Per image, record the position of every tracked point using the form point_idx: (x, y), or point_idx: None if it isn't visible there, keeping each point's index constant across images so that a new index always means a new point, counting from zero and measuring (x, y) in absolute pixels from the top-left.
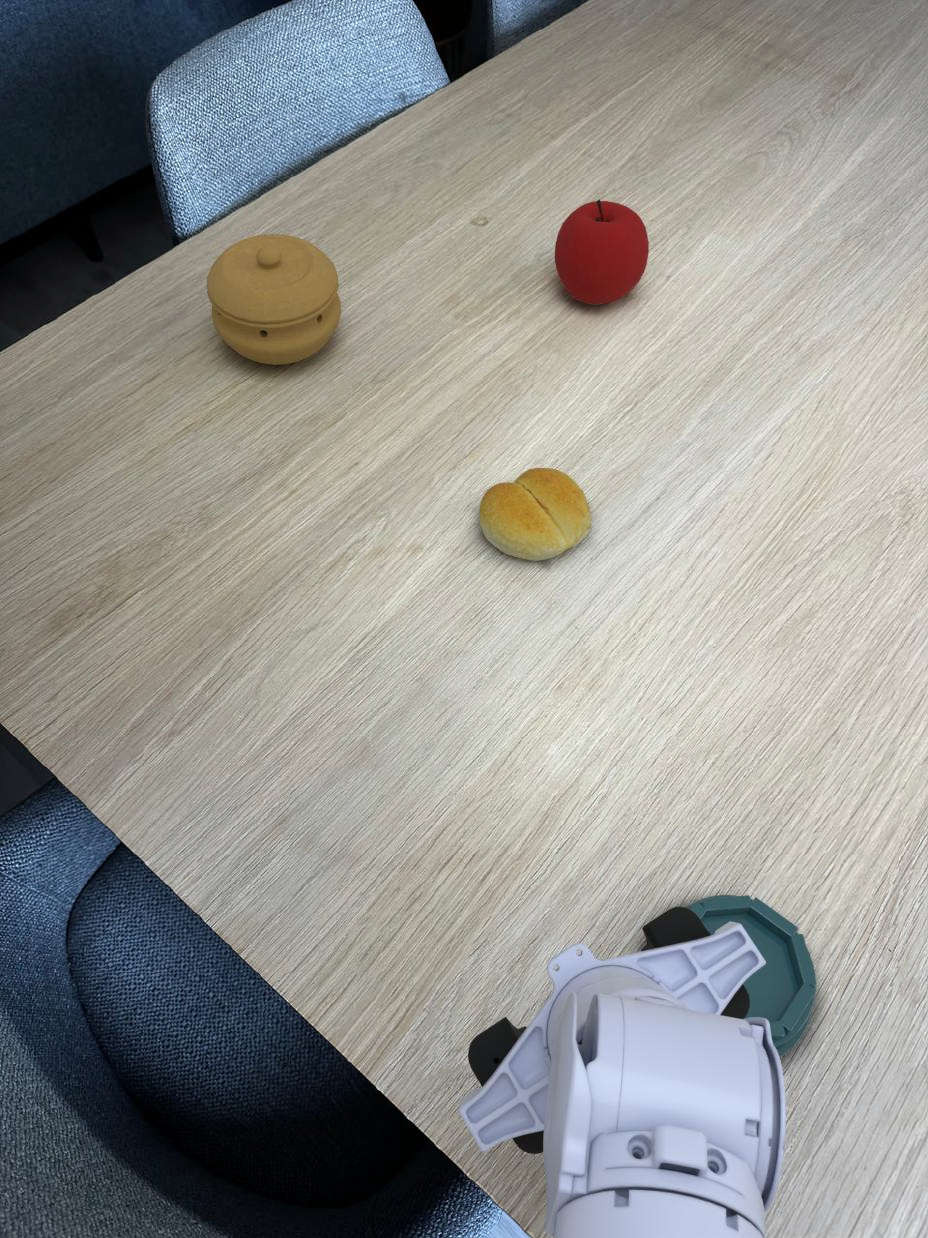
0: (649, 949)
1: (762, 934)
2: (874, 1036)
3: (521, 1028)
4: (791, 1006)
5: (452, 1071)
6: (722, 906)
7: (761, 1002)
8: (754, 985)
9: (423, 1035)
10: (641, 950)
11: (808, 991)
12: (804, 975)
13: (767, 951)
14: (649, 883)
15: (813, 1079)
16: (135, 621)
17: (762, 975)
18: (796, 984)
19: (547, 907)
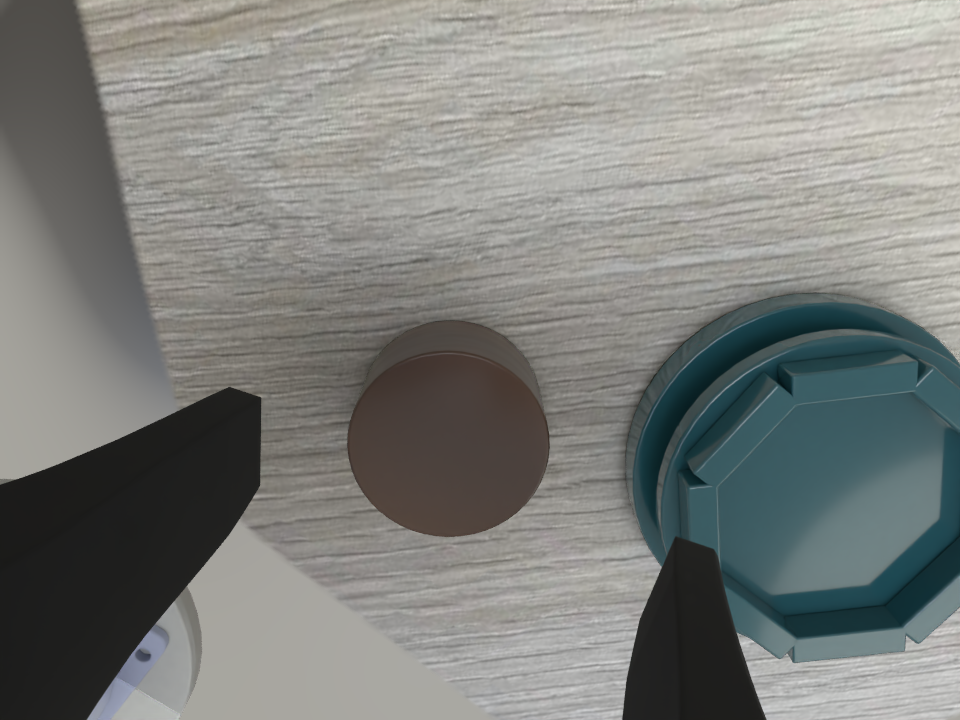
0: (674, 714)
1: (941, 492)
2: (888, 678)
3: (161, 463)
4: (840, 637)
5: (238, 189)
6: (948, 411)
7: (805, 574)
8: (827, 544)
9: (233, 84)
10: (673, 572)
11: (892, 642)
12: (919, 620)
13: (913, 521)
14: (876, 201)
15: (749, 651)
16: None
17: (858, 542)
18: (888, 598)
19: (662, 67)
